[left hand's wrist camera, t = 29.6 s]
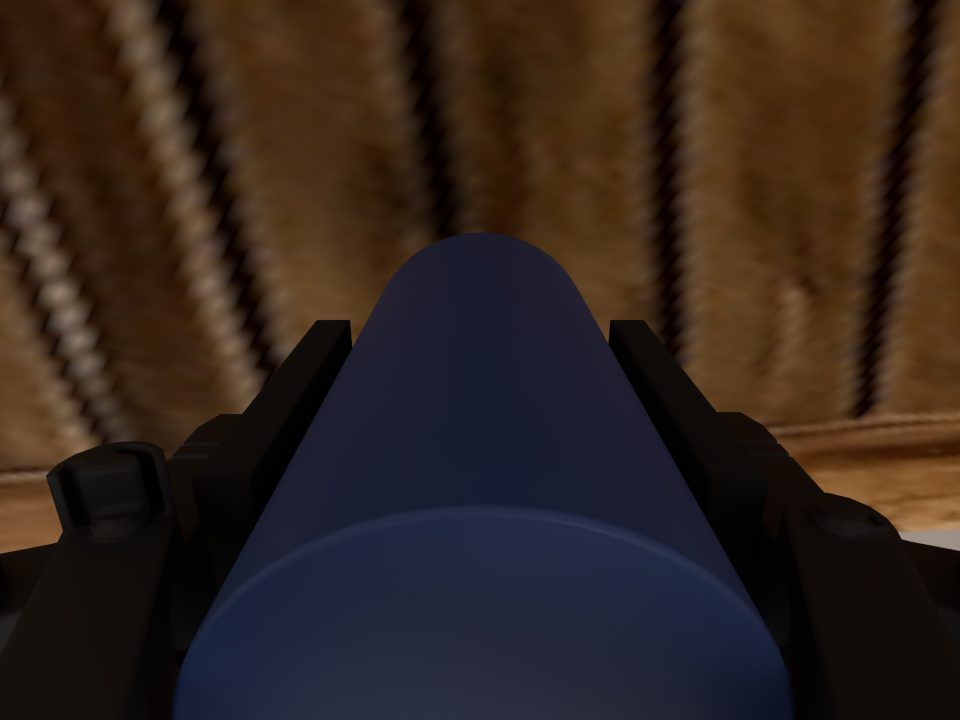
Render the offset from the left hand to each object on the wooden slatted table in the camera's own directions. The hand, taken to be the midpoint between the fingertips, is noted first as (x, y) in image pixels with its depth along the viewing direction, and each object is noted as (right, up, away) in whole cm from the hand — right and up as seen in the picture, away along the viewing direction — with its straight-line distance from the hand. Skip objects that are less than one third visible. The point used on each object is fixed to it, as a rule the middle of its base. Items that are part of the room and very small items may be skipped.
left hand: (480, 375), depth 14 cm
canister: (0, +1, +3) cm, 3 cm away
